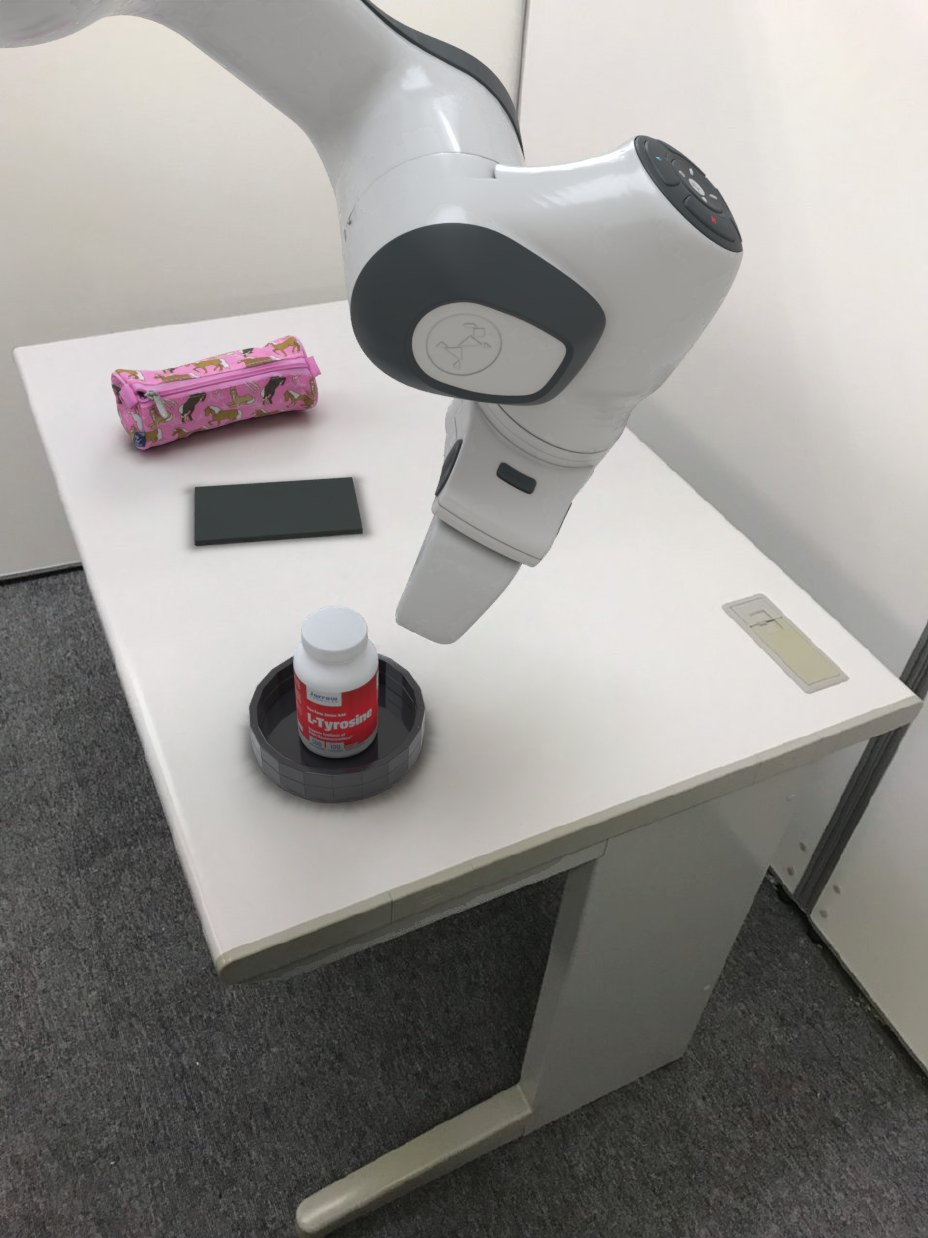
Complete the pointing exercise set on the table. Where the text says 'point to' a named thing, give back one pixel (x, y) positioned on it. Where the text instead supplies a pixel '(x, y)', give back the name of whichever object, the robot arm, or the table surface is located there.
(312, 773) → the pan
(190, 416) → the pencil case
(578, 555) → the table surface
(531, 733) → the table surface
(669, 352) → the robot arm
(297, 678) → the pill bottle
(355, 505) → the mat
